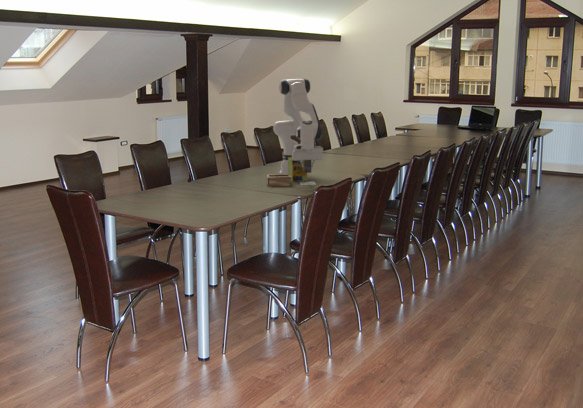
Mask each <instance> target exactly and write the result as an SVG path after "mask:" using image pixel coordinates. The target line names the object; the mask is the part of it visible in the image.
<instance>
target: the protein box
mask: <svg viewBox="0 0 583 408" xmlns="http://www.w3.org/2000/svg"><path fill="white" fill-rule="evenodd" d="M302 164H304V160H302ZM302 164H301V162H300V161H293V160H292V157H288V174H290V176H291V182H308V173H304V167H302Z"/></svg>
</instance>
